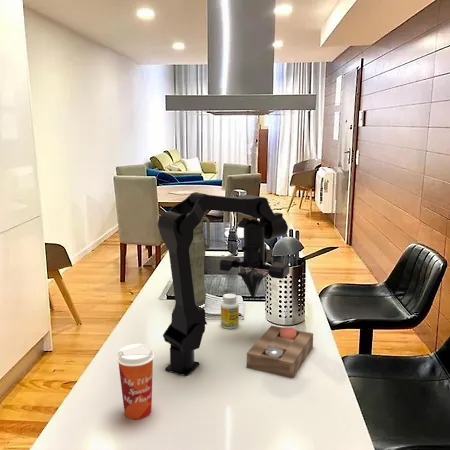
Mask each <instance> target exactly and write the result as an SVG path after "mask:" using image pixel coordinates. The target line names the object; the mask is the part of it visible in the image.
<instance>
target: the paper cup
mask: <svg viewBox="0 0 450 450" xmlns="http://www.w3.org/2000/svg"><path fill="white" fill-rule="evenodd" d="M155 356H156V354H155V352H154V349H152V348H151V347H150V346H149V345H147V344H144V343H143V344H142V343H134V344H128V345H126V346H123V347H122V348H120V350H119V352H118V355H117V356H116V362H117V363H118V370H119V379H120V387H121V393H122V401H123V402H122V403H123V410H124V415H125V417H126V418H128V419H129V420H142V419H145V418H147V417H149V416H150V415H151V412H152V403H153V402H152V401H153V369H154V368H153V367H154V365H153V364H154V363H153V362H154V361H153V360H154V358H155Z"/></svg>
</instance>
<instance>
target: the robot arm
mask: <svg viewBox="0 0 450 450" xmlns="http://www.w3.org/2000/svg"><path fill="white" fill-rule="evenodd" d="M207 211H215V212H227V213H228V212H229V213H236V214H238V215H242V216H246V217H250V218H252V219H249V218H246V217H243V218H242V219H241V221H239V222H238V223H237V227H239V228H242V229H243V246H241V251H243V259H242V260H241V259H240V257H239V256H232V255H227V256H226V257H224V258H222V259H221V260H220V261H219V263H218V264H219V265H218V269H219V271H224V272H230V271H231V270H232V269H233V268H236V269H238V271H239V272H238V273H237V276H240V277H241V278H242V281H243V282H244V284H245V285H246V287H247V289H248V292H249V294H250V296H251V298H255V297H256V295H257V293H258V290H259V288H260V285H261V283H262V280H263V279H264V278H266V277H267V276H269V277H270V278H272V279H279V280H280V279H281V280H283V279H285V278H286V276H288V275H289V274H290V269H291V268H290V265H289V264H288V263H286V262H280V261H279V262H278V261H275V262H273V264H271V265H270V264H267V263H268V262H271V261H272V254H273V250H270V249H268V248H267V244H266V243H265V242H266V240H273V239H276V238H277V239H278V238H280V237H284V236H286V235H287V233H288V231H289V227H288V223H287V221H286V219H285V218H284V217H283V215H284V214H283V213H281V212H274V211H273V209H272V207H271V206H270V204H269V201H268V198H267V197H264V196H257V195H251V194H244V195H238V196H234V197H232V196H222V195H212V194H207V193H203V192H196V191H195V192H192V193H191V194H189V195H188V196H187V197H186V198H185V199H183V200H182V201H180V202H178V203H177V204H175V205H173V206H172V207H171V208H170V209H169V210H167V211H165V212H163V213H162V214H161V216H160V217H159V218H158V220H157V228H158V232H159V234H160V238H161V240H162V241H163V243H164V244H165V246H166V248H167V250H168V255H169V257H168V258H169V263H170V271H171V278H172V286H173V294H174V302H175V305H174V307H173V310H172V312H171V322H170V323H169V325H168V327H167V328H166V330H165V331H164V333H163V335H162V337H163V340H164V342H166V343H168V344H170V347H169V354H170V355H169V364H168V365H167V366H166V367H164V370H165V371H167V372H171V373H174V374H178V375H183V376H187V377H188V376H189V375H190V374H191V373H192V372H193V371H195V369H197V367H199V365H200V361H196V360H195V351H196V350H198V349H200V346H201V343H202V339H203V335H204V333H205V332H206V325H208V322H207V321H206V310H205V308H201V307H199V306H197V305H196V303H195V296H194V287H193V279H192V270H191V262H190V253H189V248H190V245H191V243H192V240H193V236H194V228H195V227H196V226H197V225H198V224H199V223H200V222H201V220H202V217H203V216H204V215H205V212H207ZM188 213H189V214H188ZM187 214H188V215H187ZM253 218H254V219H253Z"/></svg>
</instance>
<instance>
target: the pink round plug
mask: <svg viewBox="0 0 450 450" xmlns="http://www.w3.org/2000/svg"><path fill="white" fill-rule="evenodd" d="M296 330H297V329H296V328H293V327H290V326H287V327H282V329H280V337H282V338H287V339H292V340H295V338H296Z"/></svg>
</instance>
